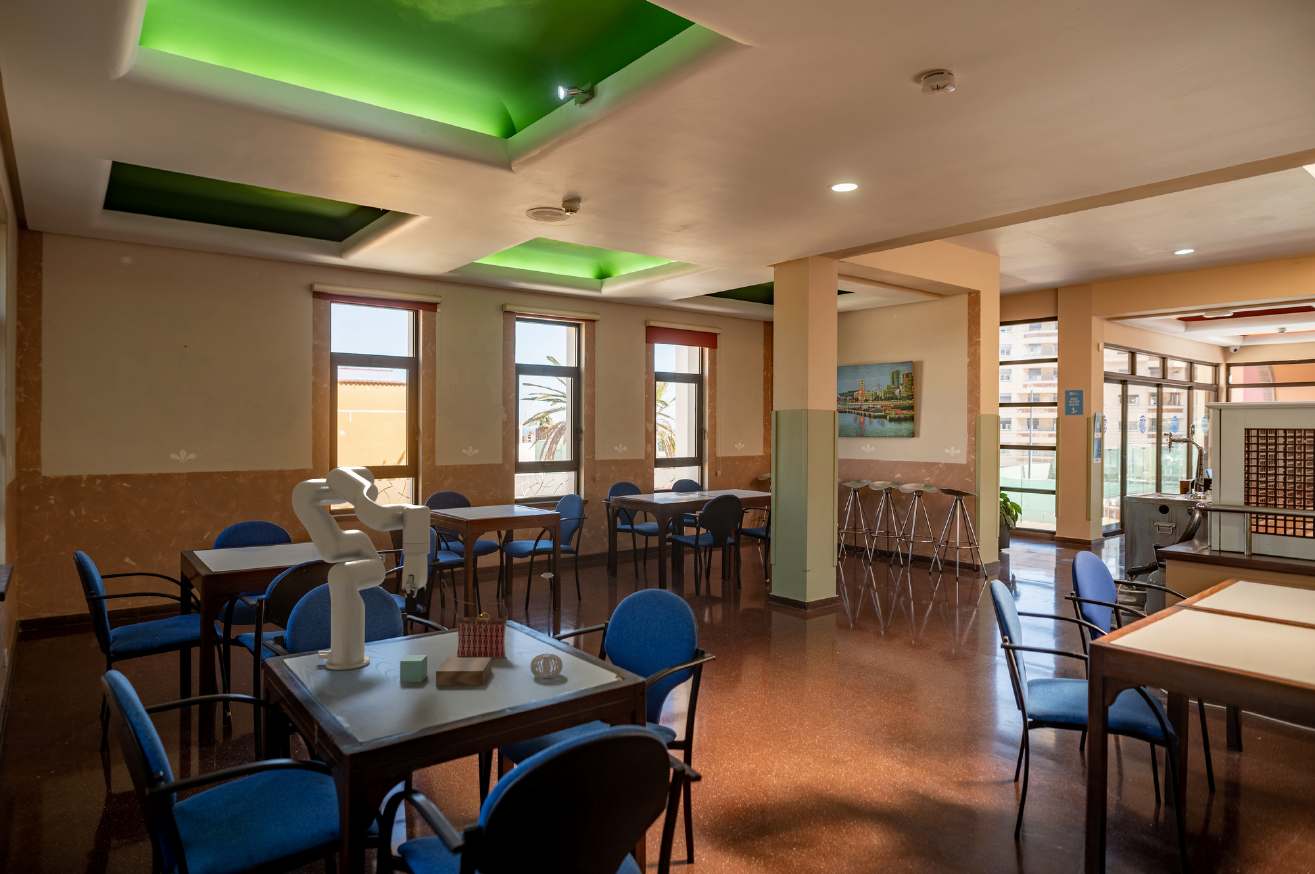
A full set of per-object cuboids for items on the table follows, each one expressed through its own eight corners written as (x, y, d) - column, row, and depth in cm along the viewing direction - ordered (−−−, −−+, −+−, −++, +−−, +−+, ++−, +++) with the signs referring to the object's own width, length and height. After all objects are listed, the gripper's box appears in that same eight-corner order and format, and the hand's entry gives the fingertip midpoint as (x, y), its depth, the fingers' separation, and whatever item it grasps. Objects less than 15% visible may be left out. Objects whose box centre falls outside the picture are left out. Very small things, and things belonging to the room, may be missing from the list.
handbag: (446, 653, 236) (446, 576, 237) (509, 655, 234) (509, 577, 235) (437, 660, 229) (438, 580, 229) (502, 662, 227) (502, 581, 227)
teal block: (399, 682, 208) (400, 660, 208) (406, 675, 214) (406, 654, 214) (421, 681, 208) (421, 660, 208) (427, 675, 214) (427, 654, 214)
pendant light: (568, 673, 216) (569, 572, 216) (551, 683, 208) (551, 577, 208) (542, 669, 220) (542, 569, 220) (523, 678, 212) (524, 574, 212)
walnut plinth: (435, 685, 205) (436, 671, 205) (447, 671, 218) (447, 657, 218) (482, 684, 206) (482, 670, 206) (491, 670, 219) (491, 657, 219)
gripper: (411, 544, 220) (410, 601, 220) (394, 552, 203) (393, 614, 203) (436, 544, 221) (436, 601, 221) (421, 552, 203) (420, 614, 203)
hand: (415, 607), depth 212 cm, fingers open, 9 cm apart
